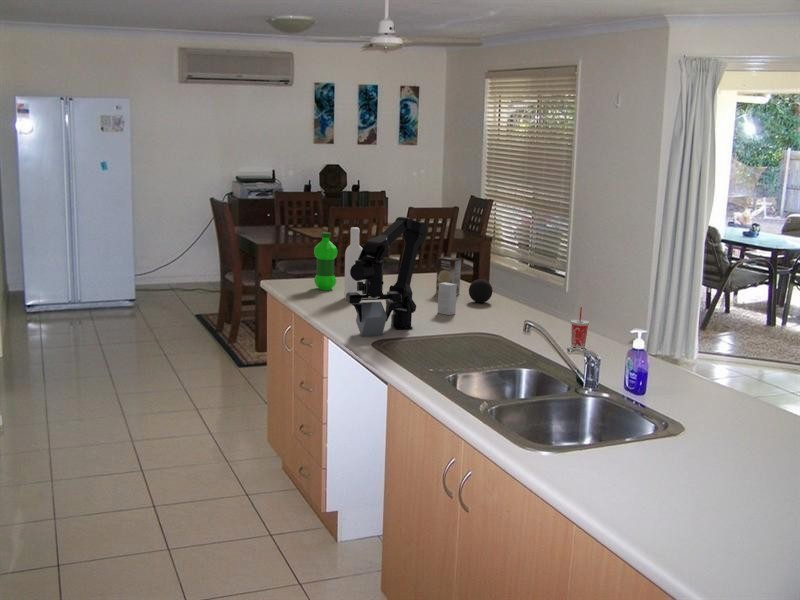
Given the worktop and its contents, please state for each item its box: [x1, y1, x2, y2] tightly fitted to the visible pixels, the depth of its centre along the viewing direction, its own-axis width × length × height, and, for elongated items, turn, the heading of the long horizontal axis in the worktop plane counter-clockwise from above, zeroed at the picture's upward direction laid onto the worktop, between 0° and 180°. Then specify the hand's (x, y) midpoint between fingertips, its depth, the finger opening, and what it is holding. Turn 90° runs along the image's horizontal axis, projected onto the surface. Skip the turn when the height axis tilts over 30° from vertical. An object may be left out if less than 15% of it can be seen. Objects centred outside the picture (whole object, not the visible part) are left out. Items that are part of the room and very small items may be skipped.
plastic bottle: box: [313, 231, 339, 291], centre depth 376 cm, size 10×10×25 cm
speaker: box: [468, 278, 493, 304], centre depth 359 cm, size 10×10×10 cm
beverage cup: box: [570, 306, 590, 350], centre depth 289 cm, size 6×6×14 cm
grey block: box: [355, 301, 387, 337], centre depth 297 cm, size 8×8×9 cm
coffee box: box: [435, 256, 462, 296], centre depth 375 cm, size 9×6×16 cm
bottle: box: [343, 226, 364, 300], centre depth 357 cm, size 8×8×30 cm
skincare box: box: [437, 282, 457, 316], centre depth 336 cm, size 6×4×12 cm
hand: (373, 321), depth 295 cm, fingers open, 9 cm apart
